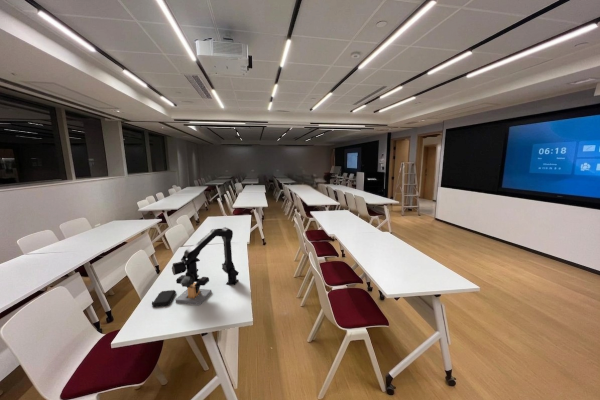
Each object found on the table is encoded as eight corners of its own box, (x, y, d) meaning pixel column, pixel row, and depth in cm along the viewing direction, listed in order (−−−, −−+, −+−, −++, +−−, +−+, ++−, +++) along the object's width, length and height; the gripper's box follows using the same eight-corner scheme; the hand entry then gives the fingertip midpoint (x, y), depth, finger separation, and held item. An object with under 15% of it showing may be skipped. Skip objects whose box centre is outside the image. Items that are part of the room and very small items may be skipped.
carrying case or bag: (158, 294, 151) (149, 308, 136) (158, 290, 150) (148, 304, 136) (177, 292, 153) (169, 306, 139) (176, 288, 152) (168, 301, 138)
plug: (194, 292, 150) (193, 282, 149) (199, 293, 150) (199, 283, 148) (188, 298, 144) (187, 287, 143) (194, 298, 144) (193, 288, 142)
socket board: (188, 290, 155) (188, 287, 154) (211, 292, 152) (211, 289, 152) (175, 302, 142) (175, 299, 142) (200, 304, 140) (199, 301, 139)
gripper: (168, 274, 137) (171, 299, 140) (198, 277, 135) (200, 301, 137) (181, 266, 148) (183, 288, 151) (208, 268, 145) (210, 291, 148)
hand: (193, 292), depth 147 cm, fingers closed on plug, 4 cm apart
